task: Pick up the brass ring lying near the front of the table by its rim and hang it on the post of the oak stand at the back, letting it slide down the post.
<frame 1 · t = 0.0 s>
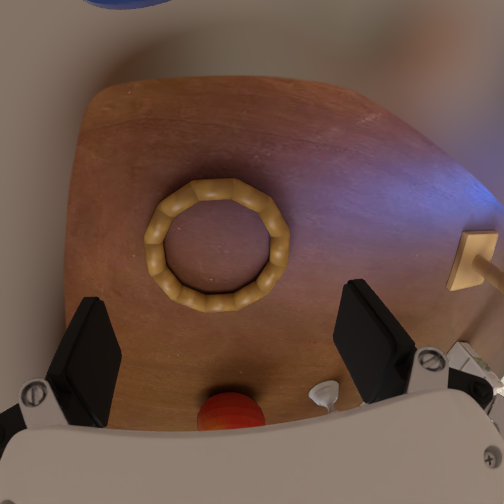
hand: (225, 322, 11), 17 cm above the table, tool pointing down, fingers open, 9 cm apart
ring: (217, 251, 27), point 1 cm above the table
post: (471, 258, 34), on the table
fruit: (228, 399, 39), on the table
chalice: (323, 389, 41), on the table
syrup box: (454, 350, 45), on the table
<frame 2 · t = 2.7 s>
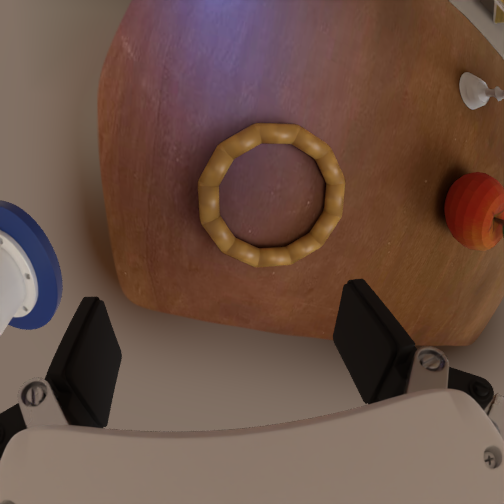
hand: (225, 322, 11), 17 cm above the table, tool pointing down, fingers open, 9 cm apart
ring: (274, 198, 26), point 1 cm above the table
platform: (483, 9, 18), on the table
fruit: (455, 199, 30), on the table
chalice: (469, 90, 24), on the table
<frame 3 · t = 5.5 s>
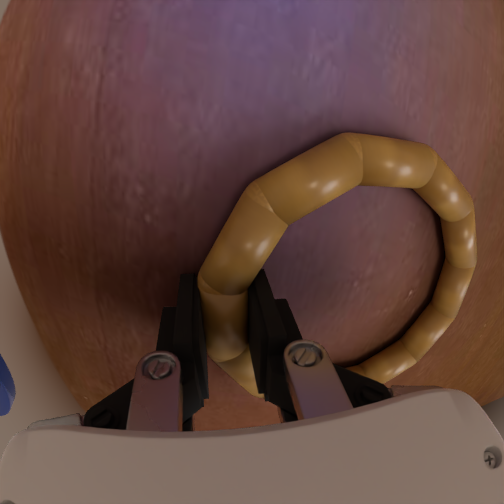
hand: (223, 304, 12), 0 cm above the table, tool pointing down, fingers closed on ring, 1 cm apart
ring: (363, 300, 12), point 1 cm above the table, touching gripper
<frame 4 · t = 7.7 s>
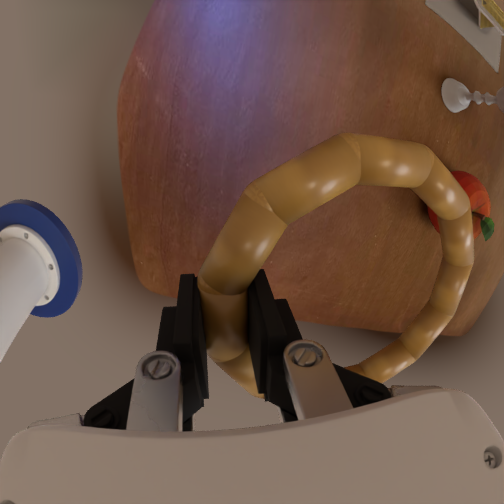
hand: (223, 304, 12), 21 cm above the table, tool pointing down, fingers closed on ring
ring: (362, 299, 12), point 21 cm above the table, touching gripper
platform: (469, 15, 21), on the table
fruit: (439, 195, 34), on the table
chalice: (452, 95, 28), on the table
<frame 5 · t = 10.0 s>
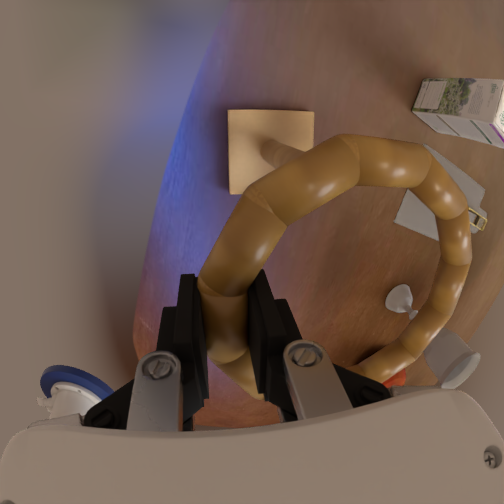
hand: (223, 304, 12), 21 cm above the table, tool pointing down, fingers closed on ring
ring: (361, 299, 12), point 22 cm above the table, touching gripper
platform: (446, 203, 36), on the table
post: (269, 150, 30), on the table
fruit: (371, 361, 49), on the table
chalice: (397, 296, 43), on the table
syrup box: (428, 105, 29), on the table
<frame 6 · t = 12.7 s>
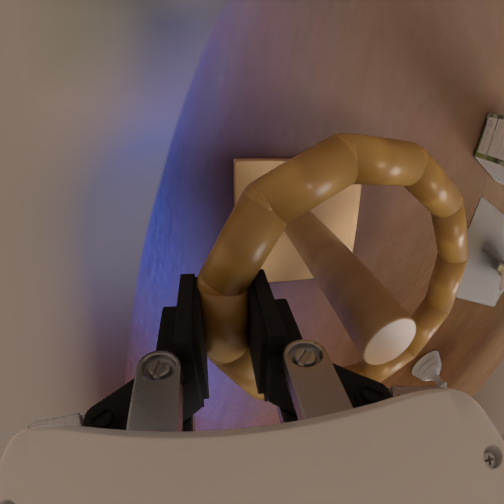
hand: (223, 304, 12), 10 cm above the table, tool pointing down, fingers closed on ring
ring: (360, 297, 12), point 10 cm above the table, touching gripper
platform: (490, 261, 28), on the table
post: (295, 219, 21), on the table
chalice: (424, 362, 34), on the table
syrup box: (490, 146, 21), on the table
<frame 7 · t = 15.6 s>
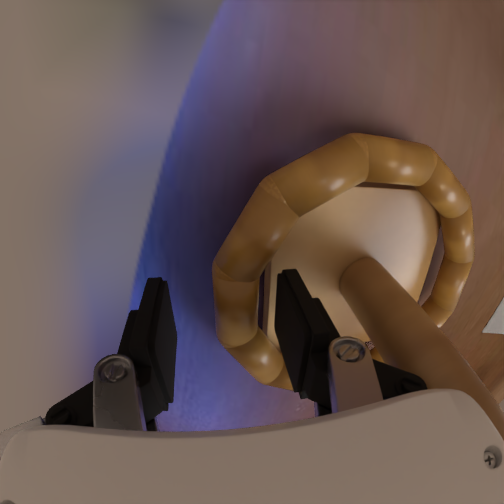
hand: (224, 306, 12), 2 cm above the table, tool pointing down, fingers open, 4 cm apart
ring: (366, 291, 12), point 2 cm above the table, touching post
post: (351, 267, 14), on the table
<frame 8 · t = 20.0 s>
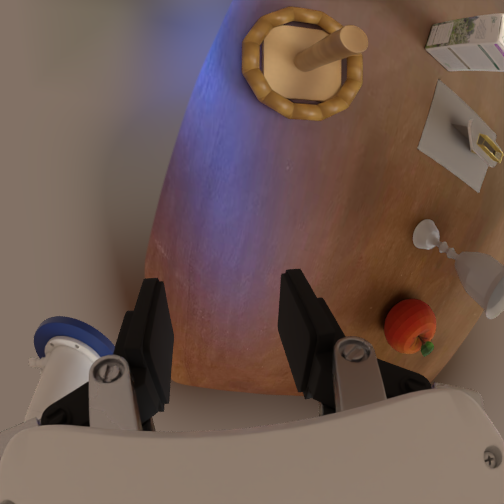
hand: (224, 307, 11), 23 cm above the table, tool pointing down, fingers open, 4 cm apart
ring: (305, 61, 25), point 2 cm above the table, touching post
platform: (462, 140, 34), on the table
post: (301, 63, 27), on the table
fruit: (398, 311, 47), on the table
chalice: (423, 233, 40), on the table
syrup box: (439, 47, 27), on the table
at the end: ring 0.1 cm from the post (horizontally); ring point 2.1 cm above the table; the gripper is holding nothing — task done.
